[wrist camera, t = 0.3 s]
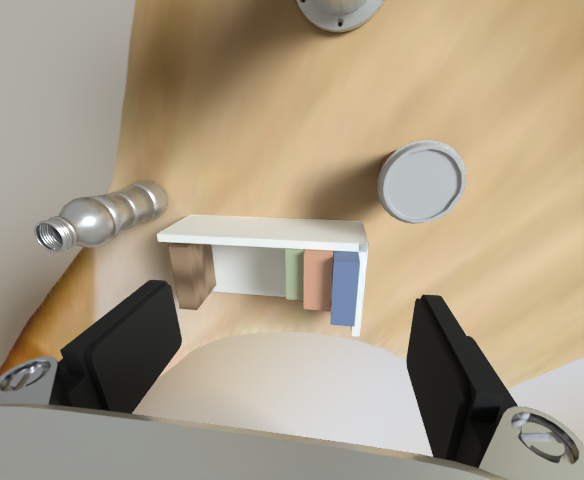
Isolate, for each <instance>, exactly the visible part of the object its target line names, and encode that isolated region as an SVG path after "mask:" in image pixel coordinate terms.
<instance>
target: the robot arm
mask: <svg viewBox="0 0 584 480" xmlns="http://www.w3.org/2000/svg"><path fill="white" fill-rule="evenodd" d="M296 1H297V4H298V6H299V7H300V9H301V11H302V13H303V14H304V15H305V17H306V18H307V19H308V20H309V21H310V22H311V23H313V24H314V25H315V26H317V27H319V28H321V29H323V30H326V31H330V32H345V31H349V30H353V29H355V28H357V27H359V26H361V25H362V24H364V23H365V22H367V21H368V20H369V19H370V18H371V17H372V16H373V15H374V14H375V13H376V12H377V11H378V10H379V8H380V7H381V6H382V4H383V3H384V1H385V0H305V2H304V3H302V0H296ZM339 23H342V26H340V27H339V26H338V24H339ZM181 342H182V338H181V333H180V328H179V323H178V318H177V313H176V309H175V304H174V299H173V294H172V289H171V286H170V285H169V284H167V282H166V281H162V280H149V281H148V282H146V283H145V284H144V285H143V286H141V287H140V288H139V289H137V290H136V291H135V292H134V293H132V294H131V295H130V296H129V297H127V298H126V299H125V300H123V301H122V302H121V303H120V304H118V305H117V306H116V307H115V308H113V309H112V310H111V311H109V312H108V313H107V314H106V315H104V316H103V317H102V318H101V319H99V320H98V321H97V322H95V323H94V324H93V325H92V326H90V327H89V328H88V329H87V330H85V331H84V332H83V333H81V334H80V335H79V336H78V337H76V338H75V339H74V340H73V341H71V342H70V343H69V344H67V345H66V346H65V347H64V348H62V349H61V350H60V351H61V354H62V356H63V359H62V360H61V361H59V362H58V361H57V360H56V359H55V358H53V357H39V358H35V359H31V360H29V361H26V362H23V363H21V364H19V365H17V366H15V367H13V368H12V369H10V370H9V371H7V372H6V373H4V374H3V375H2V376H1V377H0V480H584V445H583V443H582V442H581V441H580V440H579V439H578V437H577V436H576V435H575V434H574V433H573V432H572V431H571V430H570V429H569V428H567V427H566V426H565V425H564V424H562V423H561V422H559V421H558V420H556V419H555V418H553V417H551V416H550V415H548V414H545V413H543V412H541V411H539V410H536V409H532V408H528V407H518V406H517V404H516V402H515V401H514V400H513V398H512V396H511V395H510V393H509V392H508V390H507V389H506V387H505V386H504V384H503V383H502V381H501V380H500V378H499V377H498V375H497V374H496V372H495V371H494V369H493V368H492V366H491V365H490V363H489V361H488V360H487V358H486V357H485V355H484V354H483V352H482V351H481V349H480V348H479V346H478V345H477V343H476V342H475V340H474V339H473V338H472V337H470V336H466V334H465V333H464V331H463V330H462V328H461V326H460V325H459V323H458V322H457V320H456V319H455V317H454V315H453V314H452V312H451V311H450V309H449V308H448V306H447V304H446V303H445V301H444V300H443V298H442V297H441V296H437V295H422V297H421V299H416V301H415V307H414V313H413V320H412V327H411V333H410V340H409V346H408V353H407V369H408V373H409V376H410V379H411V383H412V386H413V390H414V393H415V396H416V399H417V403H418V407H419V410H420V413H421V417H422V420H423V423H424V426H425V430H426V433H427V437H428V440H429V444H430V447H431V450H432V454H433V457H430V456H425V455H421V454H414V453H408V452H402V451H395V450H389V449H382V448H376V447H370V446H364V445H357V444H350V443H343V442H336V441H329V440H322V439H314V438H307V437H300V436H293V435H286V434H278V433H272V432H264V431H257V430H249V429H242V428H234V427H227V426H220V425H213V424H205V423H197V422H190V421H182V420H175V419H167V418H159V417H152V416H144V415H136V414H132V412H133V411H134V410H135V408H136V407H137V406H138V404H139V403H140V401H141V400H142V398H143V397H144V396H145V395H146V393H147V392H148V390H149V389H150V388H151V386H152V385H153V384H154V382H155V381H156V380H157V378H158V377H159V375H160V374H161V373H162V371H163V370H164V369H165V367H166V366H167V365H168V363H169V362H170V360H171V359H172V358H173V356H174V355H175V354H176V352H177V351H178V350H179V348H180V346H181Z"/></svg>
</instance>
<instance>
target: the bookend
mask: <svg viewBox="0 0 584 480" xmlns="http://www.w3.org/2000/svg"><path fill="white" fill-rule="evenodd" d="M168 248H169V254H170V259H171V265H172V270H173V275H174V281H175V286H176V292H177V297H178V302H179V308H180V309H190V310H197V309H198V308H199V307H200V305H201V304H202V303H203V301H204V300H205V299H206V298H207V296H208V295H209V294H210V292H211V291H212V290H213V289H214V287H215V286H216V278H215V270H214V262H213V254H212V246H211V244H195V243H173V244H172V245H170V246H169V247H168Z"/></svg>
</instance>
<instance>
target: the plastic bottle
mask: <svg viewBox="0 0 584 480" xmlns="http://www.w3.org/2000/svg"><path fill="white" fill-rule="evenodd" d="M167 205H168V199H167V195H166V193H165V191H164V190H163V188H162V187H161V186H159V185H158V184H157V183H155V182H153V181H149V180H141V181H137V182H134V183H132V184H131V185H129V186H128V187H126V188H124V189H122V190H119V191H117V192H114V193H110V194H105V195H101V196H92V197H82V198H77V199H74V200H72V201H71V202H69V203H68V204H66V205H65V206H64V207H63V209H62V211H61V212H60V214H59V216H55V217H52V218H50V219H48V220H45V221H42V222H39V223H38V224H37V225H36V226H35V230H34V231H35V236H36V239H37V240H38V242H39V243H40V244H41V246H42V247H44V248H45V249H46V250H48V251H51V252H60V251H62V250H65V249H69V248H72V247H74V246H76V245H78V246H82V247H88V248H93V247H99V246H103V245H104V244H106V243H108V242H109V241H111V240H112V239H113V238H115V237H116V236H117V235H119V234H120V233H121V232H123V231H124V230H126V229H128V228H130V227H131V226H133V225H136V224H138V223H141V222H144V221H150V220H153V219H157V218H158V217H160V216H161V215H162V214H163V213H164V212H165V211H166V209H167Z"/></svg>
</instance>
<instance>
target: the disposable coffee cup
mask: <svg viewBox="0 0 584 480" xmlns="http://www.w3.org/2000/svg"><path fill="white" fill-rule="evenodd" d="M465 183H466V171H465V166H464V163H463V161H462V159H461V157H460V156H459V154H458V153H457V152H456V151H455V150H454V149H453V148H452V147H450V146H448V145H446V144H445V143H442V142H438V141H434V140H421V141H416V142H412V143H409V144H407V145H405V146H403V147H401V148H400V149H398V150H396V151H394V152H392V153H390V154H389V155H387V157H386V158H385V159H384V160H383V162H382V163H381V166H380V170H379V178H378V182H377V191H378V197H379V200H380V202H381V204H382V206H383V208H384V209H385V210H386V211H387V212H388V213H389V214H390V215H391V216H392V217H394V218H396V219H397V220H400V221H403V222H406V223H413V224H415V223H425V222H429V221H433V220H436V219H438V218H440V217H442V216H444V215H445V214H447V213H448V212H449V211H451V210H452V209H453V208H454V207H455V205H456V204H457V203H458V201H459V200H460V198H461V197H462V194H463V192H464V188H465Z"/></svg>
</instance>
